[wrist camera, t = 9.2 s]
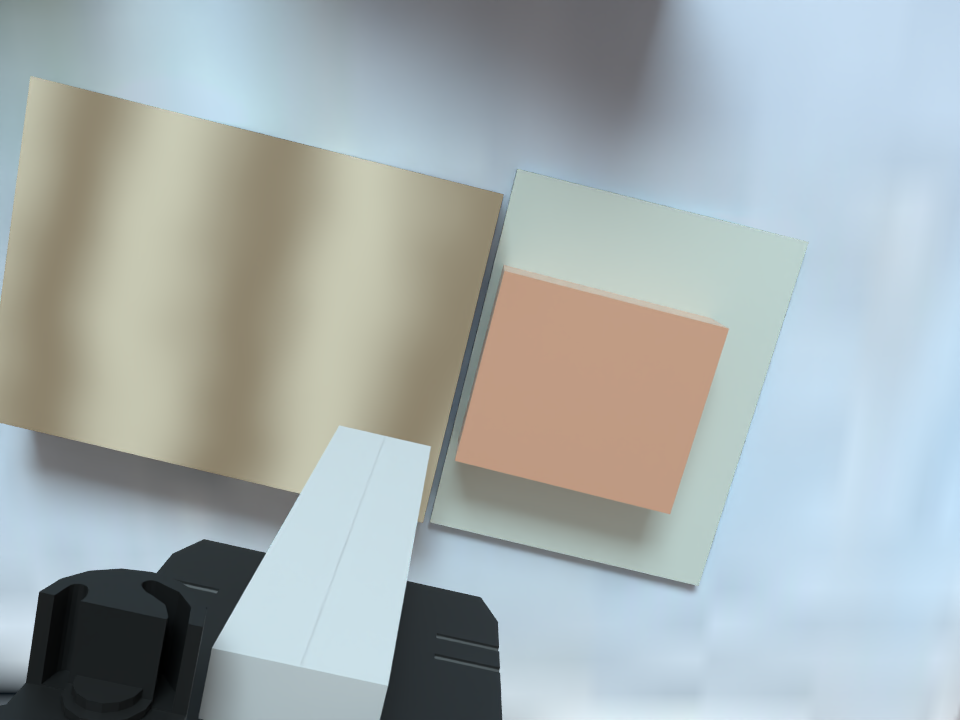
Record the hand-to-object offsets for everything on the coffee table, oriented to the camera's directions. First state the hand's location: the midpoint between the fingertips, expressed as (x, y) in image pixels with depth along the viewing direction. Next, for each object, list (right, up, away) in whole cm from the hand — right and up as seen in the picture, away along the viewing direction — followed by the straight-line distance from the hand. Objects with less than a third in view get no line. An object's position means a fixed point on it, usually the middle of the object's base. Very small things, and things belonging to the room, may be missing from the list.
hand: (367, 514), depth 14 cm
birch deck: (-7, +5, +18) cm, 20 cm away
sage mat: (+7, +2, +19) cm, 20 cm away
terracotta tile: (+6, +2, +18) cm, 19 cm away
